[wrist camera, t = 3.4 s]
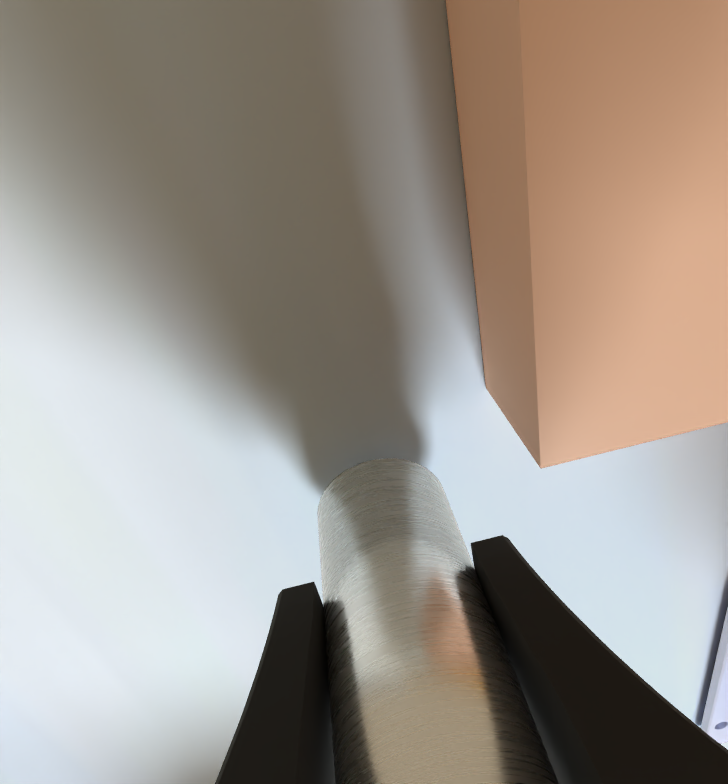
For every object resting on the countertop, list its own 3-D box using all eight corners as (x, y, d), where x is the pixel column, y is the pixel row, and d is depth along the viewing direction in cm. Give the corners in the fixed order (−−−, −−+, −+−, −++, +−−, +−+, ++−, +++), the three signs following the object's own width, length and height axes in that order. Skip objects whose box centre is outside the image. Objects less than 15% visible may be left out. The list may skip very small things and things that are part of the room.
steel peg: (452, 540, 13) (640, 1048, 6) (334, 569, 13) (385, 1113, 6) (436, 444, 11) (660, 973, 5) (302, 476, 11) (322, 1057, 5)
